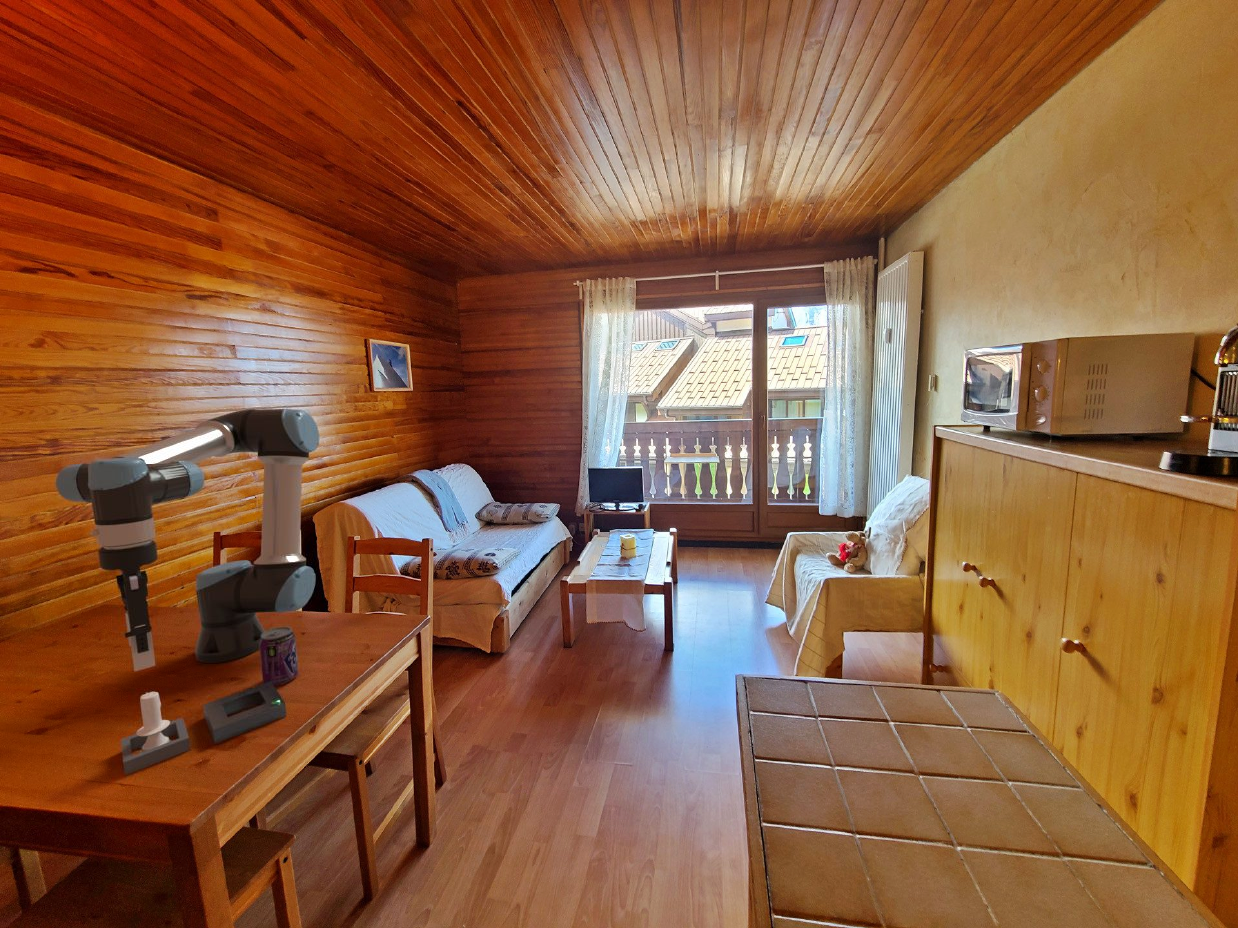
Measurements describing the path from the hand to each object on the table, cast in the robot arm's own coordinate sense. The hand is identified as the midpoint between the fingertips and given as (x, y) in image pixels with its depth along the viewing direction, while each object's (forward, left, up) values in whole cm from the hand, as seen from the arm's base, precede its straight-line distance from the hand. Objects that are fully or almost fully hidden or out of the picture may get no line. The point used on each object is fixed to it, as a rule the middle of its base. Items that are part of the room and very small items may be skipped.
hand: (141, 654), depth 94 cm
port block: (0, +14, -20) cm, 24 cm away
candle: (0, 0, -20) cm, 20 cm away
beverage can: (-11, +23, -20) cm, 32 cm away
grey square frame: (0, 0, -20) cm, 20 cm away
